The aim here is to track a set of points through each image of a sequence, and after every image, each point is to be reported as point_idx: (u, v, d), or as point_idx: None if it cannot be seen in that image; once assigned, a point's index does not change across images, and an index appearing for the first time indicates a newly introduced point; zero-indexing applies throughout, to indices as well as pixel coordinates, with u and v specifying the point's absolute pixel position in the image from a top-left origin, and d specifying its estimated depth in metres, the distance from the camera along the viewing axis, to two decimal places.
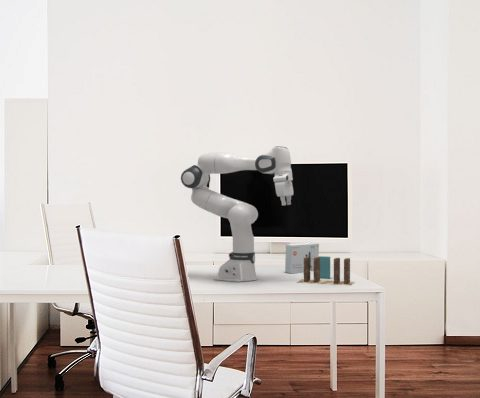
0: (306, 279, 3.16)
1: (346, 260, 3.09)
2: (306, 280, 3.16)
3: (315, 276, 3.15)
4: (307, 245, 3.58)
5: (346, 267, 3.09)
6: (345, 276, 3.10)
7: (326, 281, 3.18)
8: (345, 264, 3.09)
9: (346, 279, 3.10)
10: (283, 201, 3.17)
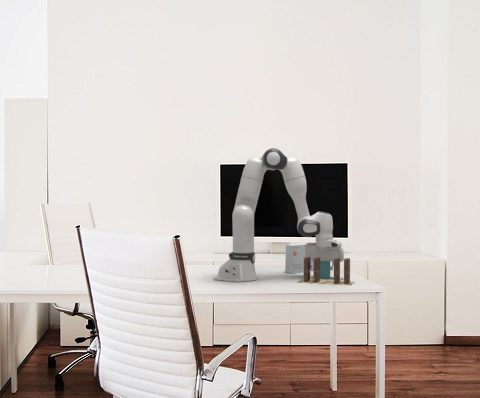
0: (306, 279, 3.16)
1: (346, 260, 3.09)
2: (306, 280, 3.16)
3: (315, 276, 3.15)
4: None
5: (346, 267, 3.09)
6: (345, 276, 3.10)
7: (326, 281, 3.18)
8: (345, 264, 3.09)
9: (346, 279, 3.10)
10: None
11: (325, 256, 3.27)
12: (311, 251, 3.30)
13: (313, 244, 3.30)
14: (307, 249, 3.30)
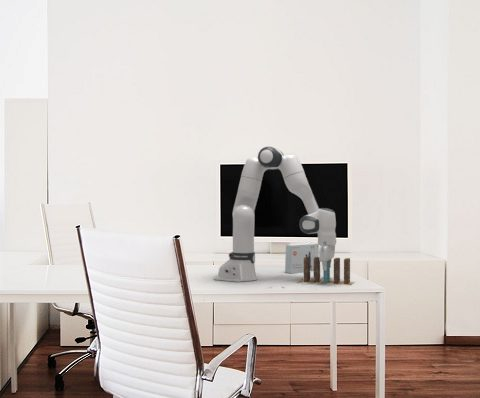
0: (306, 279, 3.16)
1: (346, 260, 3.09)
2: (306, 280, 3.16)
3: (315, 276, 3.15)
4: (307, 245, 3.58)
5: (346, 267, 3.09)
6: (345, 276, 3.10)
7: None
8: (345, 264, 3.09)
9: (346, 279, 3.10)
10: None
11: (330, 254, 3.16)
12: (327, 251, 3.09)
13: (325, 243, 3.10)
14: (326, 249, 3.07)
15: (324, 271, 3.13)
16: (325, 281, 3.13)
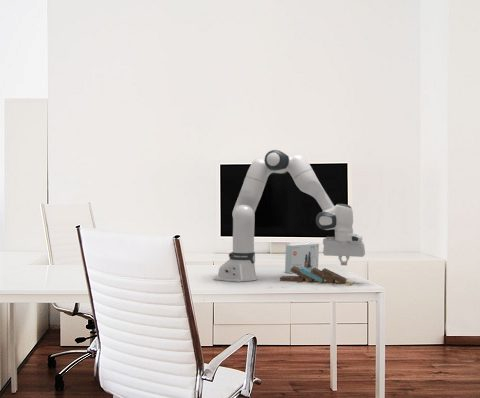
0: (300, 279, 3.17)
1: (322, 271, 3.13)
2: (301, 279, 3.17)
3: (306, 277, 3.16)
4: (307, 245, 3.58)
5: (328, 274, 3.12)
6: (336, 279, 3.11)
7: (326, 281, 3.18)
8: (325, 274, 3.13)
9: (339, 280, 3.11)
10: None
11: (345, 251, 3.11)
12: (330, 245, 3.13)
13: (332, 238, 3.14)
14: (326, 243, 3.14)
15: (311, 276, 3.15)
16: (320, 279, 3.14)
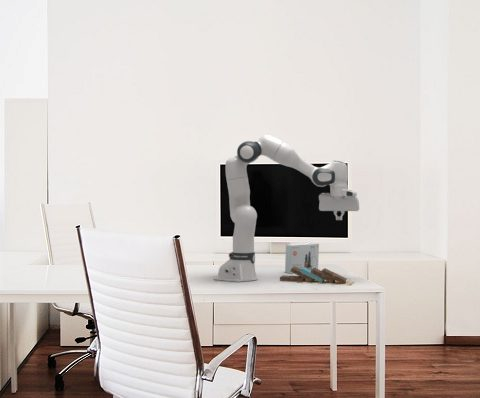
0: (300, 279, 3.17)
1: (322, 271, 3.13)
2: (301, 279, 3.17)
3: (306, 277, 3.16)
4: (307, 245, 3.58)
5: (328, 274, 3.12)
6: (336, 279, 3.11)
7: (326, 281, 3.18)
8: (325, 274, 3.13)
9: (339, 280, 3.11)
10: None
11: (340, 206, 3.22)
12: (326, 201, 3.25)
13: (328, 194, 3.25)
14: (321, 199, 3.25)
15: (311, 276, 3.15)
16: (320, 279, 3.14)
